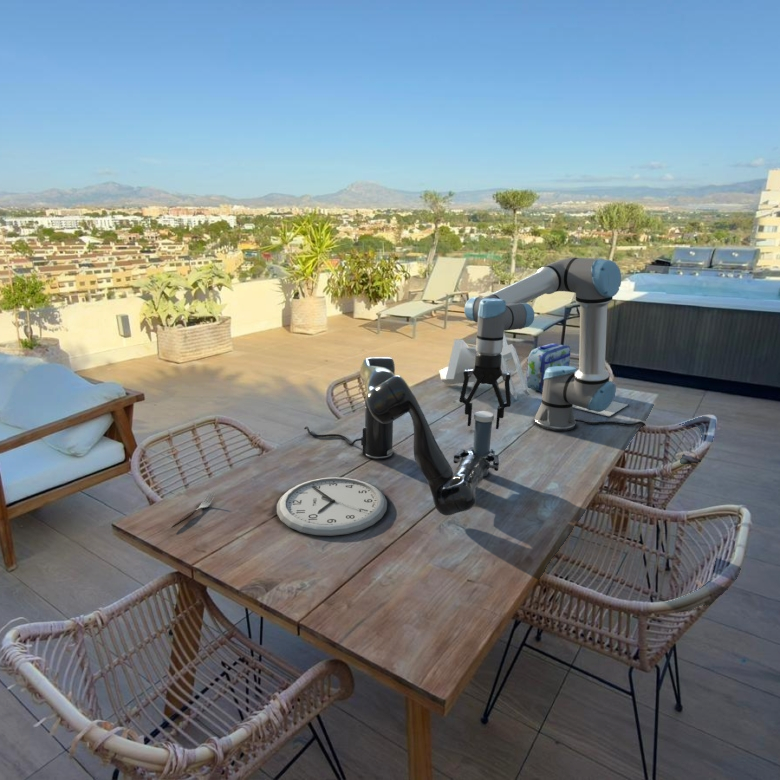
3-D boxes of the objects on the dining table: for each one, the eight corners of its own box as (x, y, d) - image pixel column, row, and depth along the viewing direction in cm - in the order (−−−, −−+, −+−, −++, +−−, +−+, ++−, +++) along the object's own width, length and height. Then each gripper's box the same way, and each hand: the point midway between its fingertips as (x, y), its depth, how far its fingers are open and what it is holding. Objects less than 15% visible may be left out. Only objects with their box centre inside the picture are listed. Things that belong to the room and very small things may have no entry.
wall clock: (392, 527, 129) (268, 531, 127) (391, 533, 130) (269, 537, 127) (383, 473, 158) (282, 475, 155) (383, 478, 158) (282, 480, 156)
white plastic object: (461, 429, 252) (437, 405, 227) (444, 352, 274) (420, 323, 250) (535, 404, 240) (518, 377, 215) (510, 326, 262) (492, 293, 237)
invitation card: (608, 416, 214) (573, 407, 224) (608, 416, 214) (573, 408, 224) (628, 404, 229) (594, 396, 238) (628, 405, 229) (594, 397, 238)
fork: (167, 528, 130) (166, 521, 130) (209, 498, 145) (208, 492, 144) (175, 530, 130) (174, 523, 129) (216, 500, 144) (216, 494, 143)
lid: (470, 417, 159) (470, 412, 159) (485, 414, 162) (486, 409, 161) (481, 423, 154) (481, 418, 154) (497, 420, 157) (497, 415, 156)
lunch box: (542, 395, 240) (547, 351, 233) (522, 390, 247) (526, 347, 241) (569, 384, 257) (575, 343, 251) (550, 380, 264) (554, 339, 258)
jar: (483, 468, 166) (487, 413, 161) (490, 475, 162) (495, 418, 156) (469, 470, 165) (472, 414, 159) (475, 477, 160) (479, 419, 155)
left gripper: (496, 465, 145) (506, 443, 160) (446, 456, 150) (461, 435, 165) (494, 489, 147) (504, 465, 162) (445, 479, 152) (459, 457, 167)
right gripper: (525, 352, 153) (518, 425, 160) (455, 347, 158) (451, 418, 165) (524, 358, 146) (517, 434, 153) (451, 352, 151) (447, 426, 158)
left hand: (482, 450), depth 164 cm, fingers closed on jar, 5 cm apart
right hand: (483, 426), depth 159 cm, fingers open, 8 cm apart
